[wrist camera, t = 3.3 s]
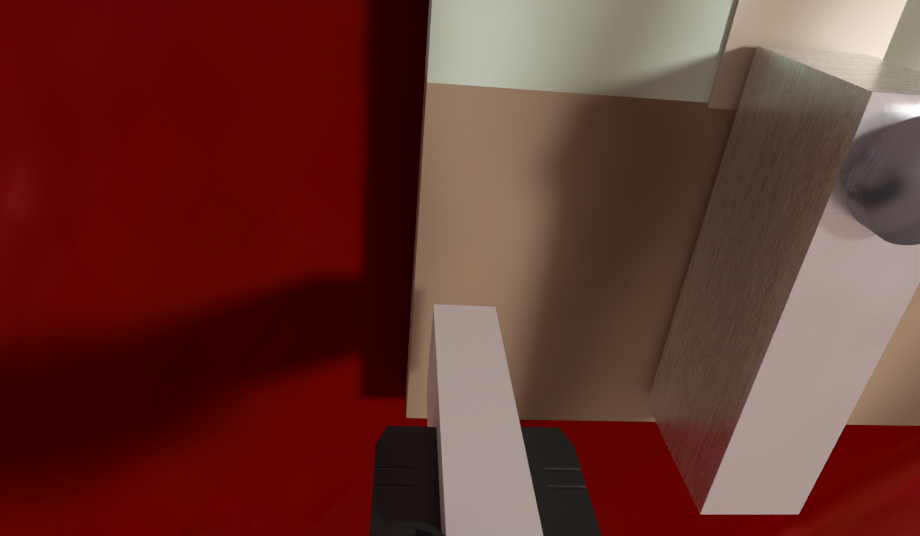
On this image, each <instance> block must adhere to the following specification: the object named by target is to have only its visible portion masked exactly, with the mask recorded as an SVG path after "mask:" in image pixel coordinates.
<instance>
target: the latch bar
mask: <svg viewBox="0 0 920 536" xmlns="http://www.w3.org/2000/svg"><path fill="white" fill-rule="evenodd" d="M919 283H920V72H919V71H916V70H913V69H910V68H907V67H904V66H901V65H898V64H895V63H892V62H889V61H886V60H883V59H880V58H876V57H873V56H870V55H867V54H858V53H846V52H834V51H822V50H810V49H798V48H786V47H774V46H762V45H757V48H756V51H755V54H754V58H753V61H752V64H751V67H750V71H749V74H748V77H747V80H746V84H745V87H744V90H743V93H742V97H741V100H740V103H739V106H738V110H737V113H736V116H735V119H734V123H733V126H732V129H731V132H730V136H729V139H728V142H727V145H726V149H725V152H724V155H723V158H722V162H721V165H720V168H719V171H718V175H717V178H716V181H715V184H714V188H713V191H712V194H711V197H710V201H709V204H708V207H707V210H706V214H705V217H704V220H703V223H702V226H701V230H700V233H699V236H698V239H697V243H696V246H695V249H694V252H693V256H692V259H691V262H690V265H689V269H688V272H687V275H686V278H685V282H684V285H683V288H682V291H681V295H680V298H679V301H678V304H677V308H676V311H675V314H674V317H673V321H672V324H671V327H670V330H669V334H668V337H667V340H666V343H665V347H664V350H663V353H662V356H661V360H660V363H659V366H658V369H657V373H656V376H655V379H654V382H653V386H652V389H651V392H650V395H649V399H648V402H647V405H648V407H649V409H650V411H651V413H652V415H653V417H654V419H655V421H656V423H657V425H658V428H659V430H660V432H661V434H662V436H663V438H664V440H665V442H666V444H667V446H668V448H669V450H670V453H671V455H672V457H673V459H674V461H675V463H676V465H677V467H678V469H679V471H680V473H681V475H682V478H683V480H684V482H685V484H686V486H687V488H688V490H689V492H690V494H691V496H692V498H693V500H694V503H695V505H696V507H697V509H698V511H699V513H700V514H799V513H800V511H801V509H802V507H803V505H804V503H805V501H806V499H807V497H808V495H809V494H810V492H811V490H812V488H813V486H814V484H815V482H816V480H817V478H818V476H819V474H820V472H821V471H822V469H823V467H824V465H825V463H826V461H827V459H828V457H829V455H830V453H831V451H832V450H833V448H834V446H835V444H836V442H837V440H838V438H839V436H840V434H841V432H842V430H843V428H844V427H845V425H846V423H847V421H848V419H849V417H850V415H851V413H852V411H853V409H854V407H855V405H856V404H857V402H858V400H859V398H860V396H861V394H862V392H863V390H864V388H865V386H866V384H867V383H868V381H869V379H870V377H871V375H872V373H873V371H874V369H875V367H876V365H877V363H878V361H879V360H880V358H881V356H882V354H883V352H884V350H885V348H886V346H887V344H888V342H889V340H890V339H891V337H892V335H893V333H894V331H895V329H896V327H897V325H898V323H899V321H900V319H901V317H902V316H903V314H904V312H905V310H906V308H907V306H908V304H909V302H910V300H911V298H912V296H913V294H914V293H915V291H916V289H917V287H918V285H919Z"/></svg>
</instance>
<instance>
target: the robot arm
mask: <svg viewBox="0 0 920 536" xmlns="http://www.w3.org/2000/svg"><path fill="white" fill-rule="evenodd" d="M426 395H427V427H415V426H387V427H386V429H385V430H384V432H383V434H382V435H381V437H380V438H379V440H378V442H377V443H376V445H375V460H374V475H373V490H372V505H371V520H370V535H369V536H601V535H600V531H599V528H598V525H597V521H596V518H595V515H594V511H593V508H592V505H591V501H590V498H589V495H588V491H587V489H586V488H585V481H584V478H583V475H582V472H580V465H579V461H578V458H577V455H576V451H575V448H574V446H573V445H572V443H571V442H570V441H569V440H568V439H567V437H566V436H565V435H564V434H563V432H562V431H561V430H560V429H559V428H549V427H520V422H519V417H518V412H517V408H516V403H515V398H514V393H513V388H512V384H511V379H510V374H509V369H508V365H507V360H506V355H505V350H504V345H503V341H502V336H501V331H500V326H499V322H498V317H497V312H496V307H492V306H466V305H440V304H433V317H432V329H431V341H430V354H429V366H428V379H427V391H426Z"/></svg>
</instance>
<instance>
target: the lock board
mask: <svg viewBox="0 0 920 536" xmlns="http://www.w3.org/2000/svg"><path fill="white" fill-rule="evenodd" d="M757 45H762V46H774V47H786V48H798V49H810V50H822V51H834V52H846V53H858V54H867V55H870V56H873V57H876V58H880V59H883V60H886V61H889V62H892V63H895V64H898V65H901V66H904V67H907V68H910V69H913V70H916V71H919V72H920V0H429V13H428V30H427V46H426V63H425V80H424V96H423V113H422V130H421V146H420V163H419V180H418V196H417V213H416V230H415V246H414V263H413V280H412V296H411V313H410V330H409V346H408V363H407V380H406V418H427V395H426V391H427V379H428V366H429V354H430V341H431V329H432V317H433V304H440V305H466V306H492V307H496V312H497V317H498V322H499V326H500V331H501V336H502V341H503V345H504V350H505V355H506V360H507V365H508V369H509V374H510V379H511V384H512V388H513V393H514V398H515V403H516V408H517V412H518V417H519V419H522V420H587V421H653V422H656V421H655V419H654V417H653V415H652V413H651V411H650V409H649V407H648V405H647V402H648V399H649V395H650V392H651V389H652V386H653V382H654V379H655V376H656V373H657V369H658V366H659V363H660V360H661V356H662V353H663V350H664V347H665V343H666V340H667V337H668V334H669V330H670V327H671V324H672V321H673V317H674V314H675V311H676V308H677V304H678V301H679V298H680V295H681V291H682V288H683V285H684V282H685V278H686V275H687V272H688V269H689V265H690V262H691V259H692V256H693V252H694V249H695V246H696V243H697V239H698V236H699V233H700V230H701V226H702V223H703V220H704V217H705V214H706V210H707V207H708V204H709V201H710V197H711V194H712V191H713V188H714V184H715V181H716V178H717V175H718V171H719V168H720V165H721V162H722V158H723V155H724V152H725V149H726V145H727V142H728V139H729V136H730V132H731V129H732V126H733V123H734V119H735V116H736V113H737V110H738V106H739V103H740V100H741V97H742V93H743V90H744V87H745V84H746V80H747V77H748V74H749V71H750V67H751V64H752V61H753V58H754V54H755V51H756V48H757ZM846 424H850V425H915V426H920V283H919V285H918V287H917V289H916V291H915V293H914V294H913V296H912V298H911V300H910V302H909V304H908V306H907V308H906V310H905V312H904V314H903V316H902V317H901V319H900V321H899V323H898V325H897V327H896V329H895V331H894V333H893V335H892V337H891V339H890V340H889V342H888V344H887V346H886V348H885V350H884V352H883V354H882V356H881V358H880V360H879V361H878V363H877V365H876V367H875V369H874V371H873V373H872V375H871V377H870V379H869V381H868V383H867V384H866V386H865V388H864V390H863V392H862V394H861V396H860V398H859V400H858V402H857V404H856V405H855V407H854V409H853V411H852V413H851V415H850V417H849V419H848V421H847V423H846Z"/></svg>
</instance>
